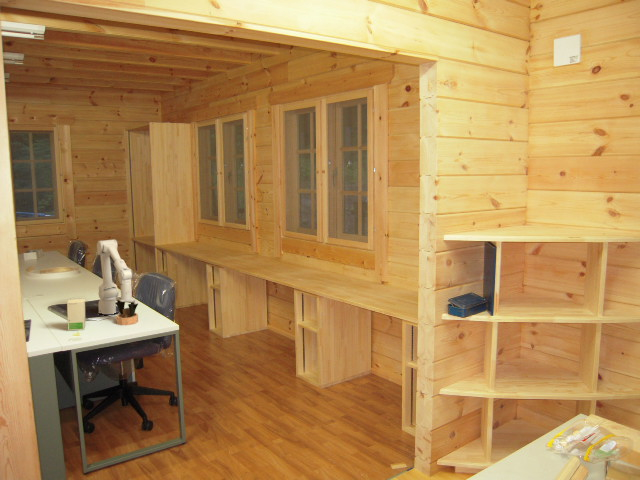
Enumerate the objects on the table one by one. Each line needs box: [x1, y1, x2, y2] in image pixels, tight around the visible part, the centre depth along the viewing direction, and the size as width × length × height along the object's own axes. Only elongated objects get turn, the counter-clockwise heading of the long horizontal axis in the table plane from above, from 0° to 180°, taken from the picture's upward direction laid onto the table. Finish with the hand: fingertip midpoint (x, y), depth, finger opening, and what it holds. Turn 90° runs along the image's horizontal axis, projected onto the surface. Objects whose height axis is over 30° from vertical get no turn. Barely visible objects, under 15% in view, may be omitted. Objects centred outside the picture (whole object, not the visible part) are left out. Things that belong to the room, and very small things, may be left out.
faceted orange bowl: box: [115, 312, 139, 326], centre depth 303 cm, size 11×11×4 cm
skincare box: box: [66, 298, 86, 332], centre depth 290 cm, size 8×7×16 cm
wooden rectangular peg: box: [123, 307, 131, 318], centre depth 303 cm, size 2×4×7 cm, turn 154°
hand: (127, 314), depth 303 cm, fingers open, 7 cm apart
